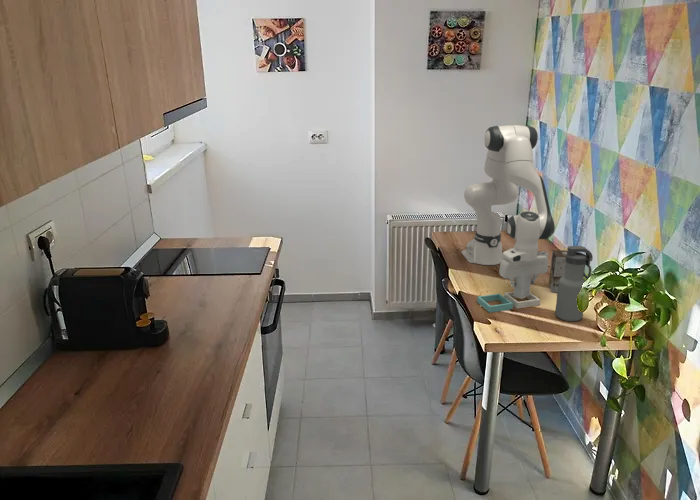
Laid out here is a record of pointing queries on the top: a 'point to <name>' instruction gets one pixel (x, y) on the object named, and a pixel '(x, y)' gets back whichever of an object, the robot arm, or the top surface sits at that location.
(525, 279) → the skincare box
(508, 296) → the shallow square trays
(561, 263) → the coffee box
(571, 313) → the water bottle
